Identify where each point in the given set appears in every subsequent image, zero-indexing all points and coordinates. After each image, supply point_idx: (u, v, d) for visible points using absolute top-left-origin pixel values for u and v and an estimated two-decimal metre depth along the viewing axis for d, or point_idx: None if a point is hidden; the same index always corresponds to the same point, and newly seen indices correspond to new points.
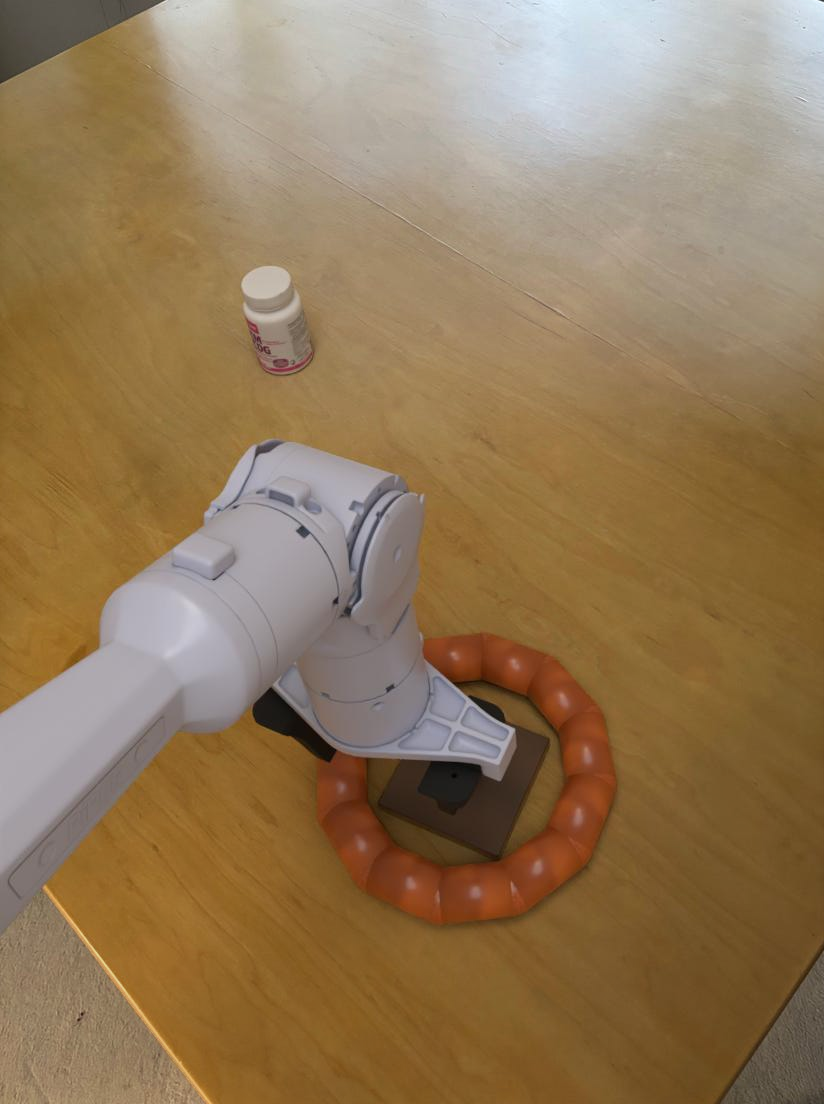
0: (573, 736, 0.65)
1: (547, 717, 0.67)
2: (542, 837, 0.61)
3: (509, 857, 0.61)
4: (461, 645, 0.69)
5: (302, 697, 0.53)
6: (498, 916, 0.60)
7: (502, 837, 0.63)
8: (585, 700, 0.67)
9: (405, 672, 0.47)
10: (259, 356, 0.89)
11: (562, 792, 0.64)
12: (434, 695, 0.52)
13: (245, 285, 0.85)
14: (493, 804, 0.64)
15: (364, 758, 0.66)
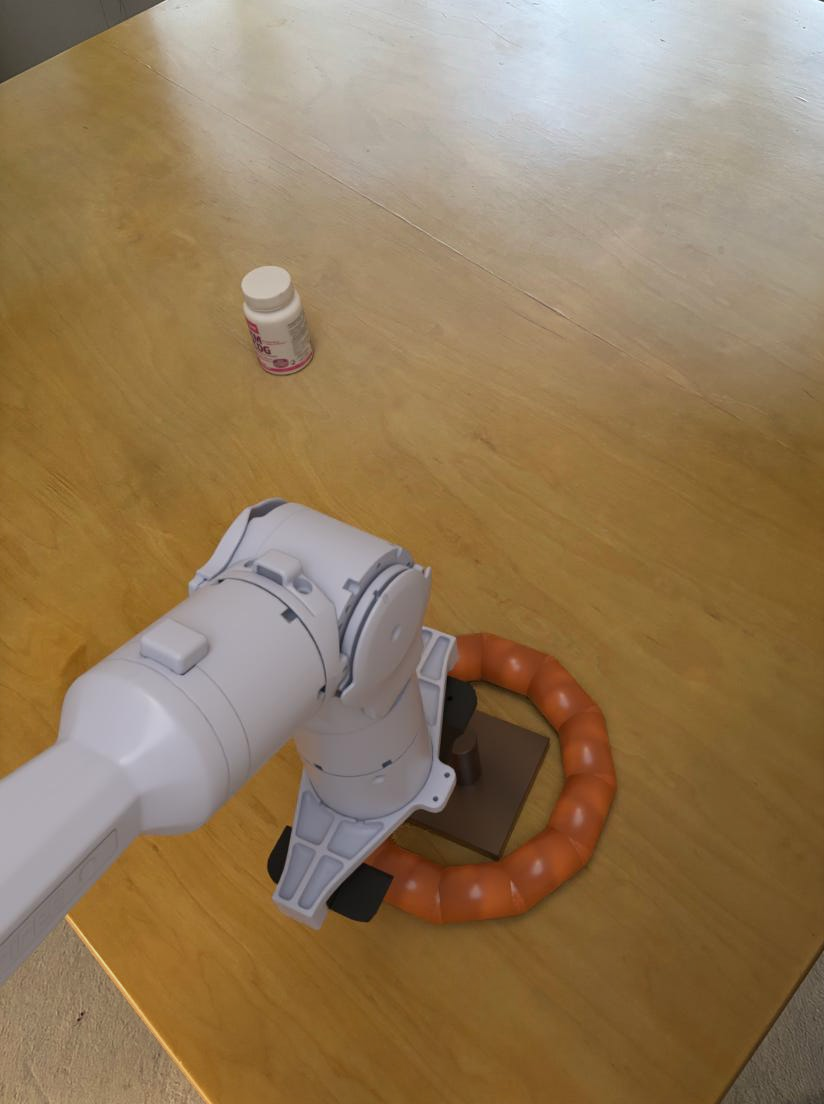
0: (573, 736, 0.65)
1: (547, 717, 0.67)
2: (542, 837, 0.61)
3: (509, 857, 0.61)
4: (461, 645, 0.69)
5: None
6: (498, 916, 0.60)
7: (502, 837, 0.63)
8: (585, 700, 0.67)
9: (404, 747, 0.44)
10: (259, 356, 0.89)
11: (562, 792, 0.64)
12: (364, 827, 0.47)
13: (245, 285, 0.85)
14: (493, 804, 0.64)
15: None
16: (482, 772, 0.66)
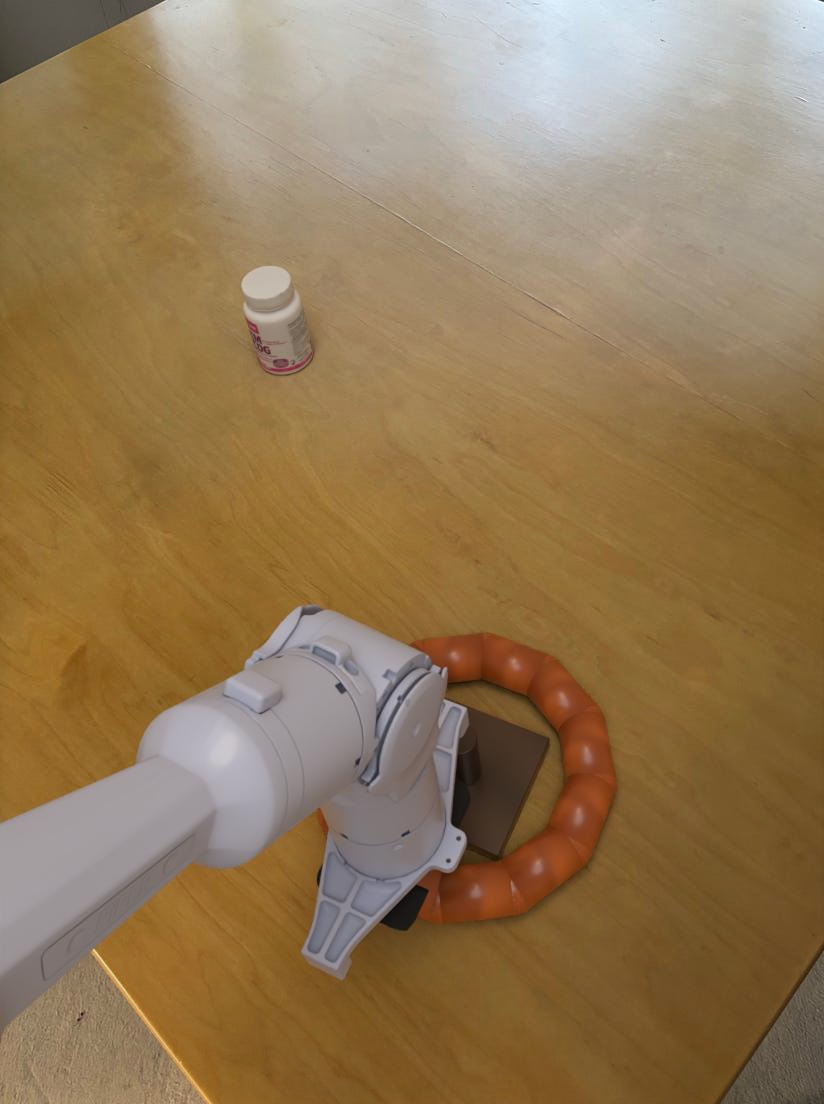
0: (574, 735, 0.65)
1: (547, 717, 0.67)
2: (542, 837, 0.61)
3: (510, 856, 0.61)
4: (461, 645, 0.69)
5: None
6: (498, 916, 0.60)
7: (502, 837, 0.63)
8: (585, 700, 0.67)
9: (421, 819, 0.49)
10: (259, 356, 0.89)
11: (562, 791, 0.64)
12: (384, 886, 0.53)
13: (245, 285, 0.85)
14: (493, 804, 0.64)
15: None
16: (482, 772, 0.66)
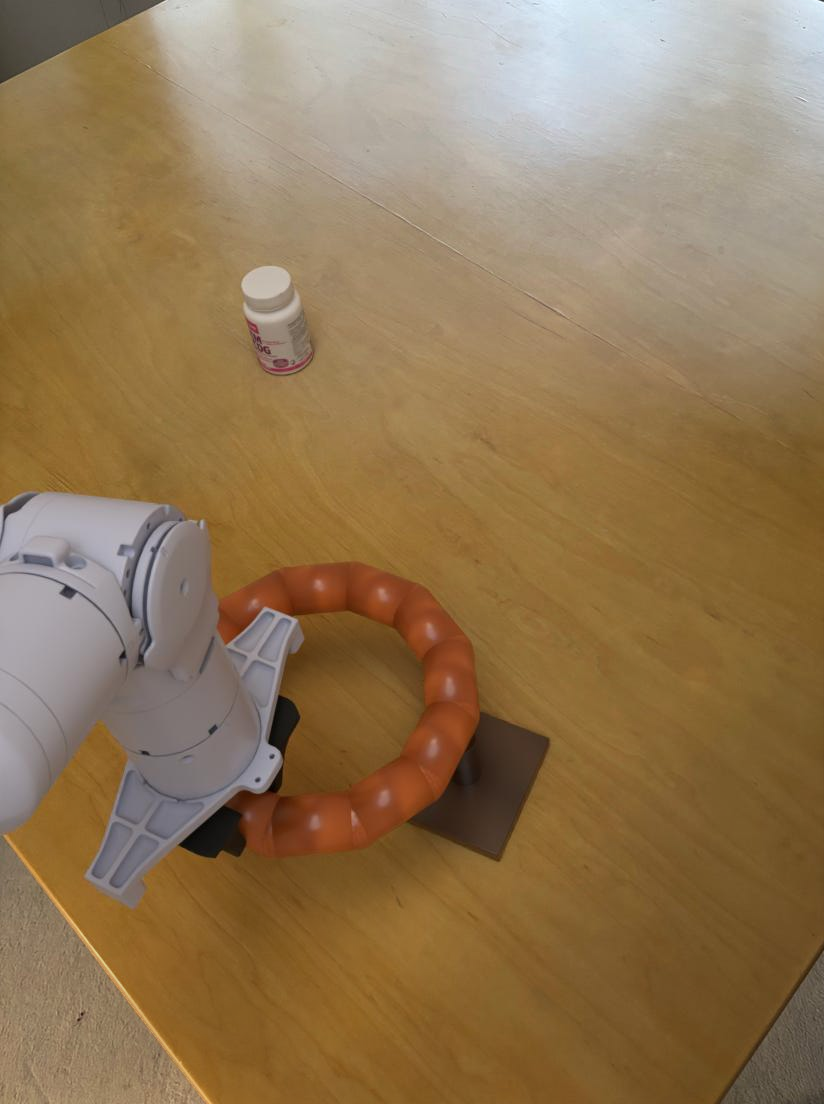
0: (436, 663, 0.60)
1: (412, 647, 0.62)
2: (391, 765, 0.56)
3: (354, 786, 0.56)
4: (325, 572, 0.65)
5: None
6: (337, 848, 0.55)
7: (502, 837, 0.63)
8: (452, 628, 0.62)
9: (226, 709, 0.45)
10: (259, 356, 0.89)
11: (418, 721, 0.59)
12: (186, 807, 0.47)
13: (245, 285, 0.85)
14: (493, 804, 0.64)
15: None
16: (482, 772, 0.66)
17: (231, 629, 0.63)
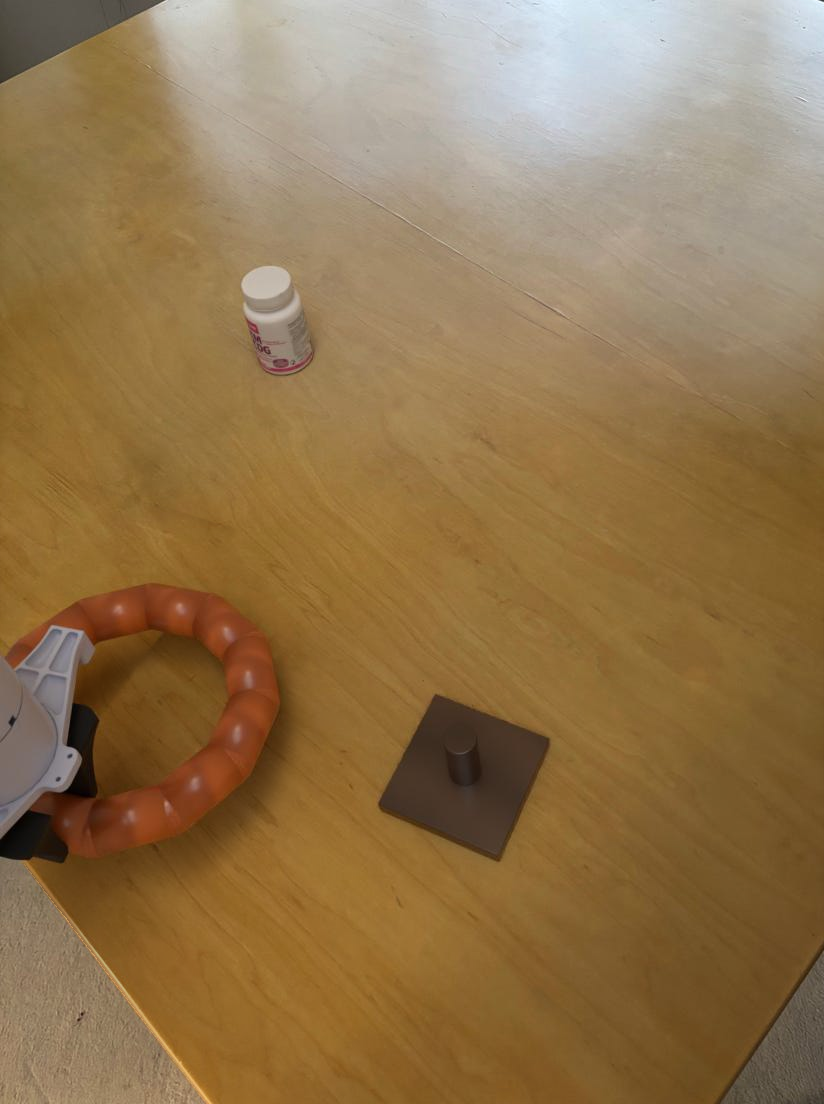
0: (233, 659, 0.66)
1: (212, 650, 0.68)
2: (198, 754, 0.61)
3: (165, 778, 0.60)
4: (123, 596, 0.69)
5: None
6: (155, 836, 0.59)
7: (502, 837, 0.63)
8: (246, 627, 0.67)
9: (17, 700, 0.49)
10: (259, 356, 0.89)
11: (222, 712, 0.64)
12: None
13: (245, 285, 0.85)
14: (493, 804, 0.64)
15: None
16: (482, 772, 0.66)
17: None
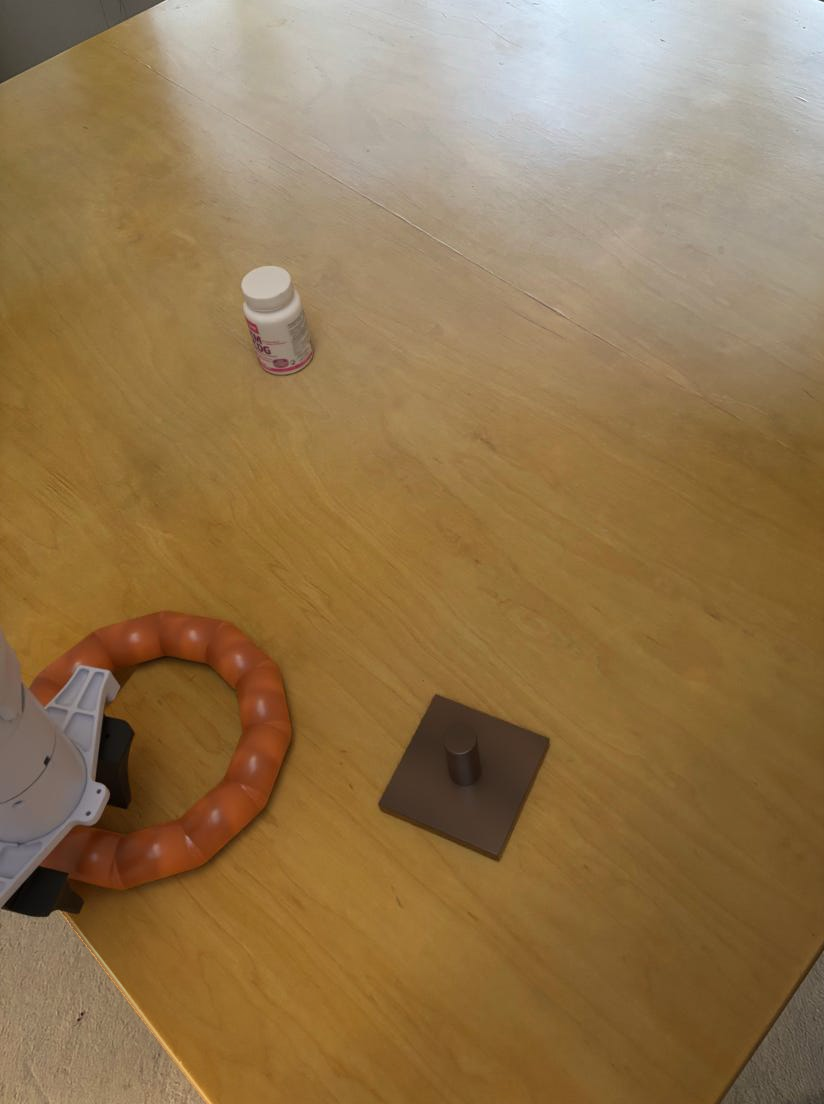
0: (246, 691, 0.68)
1: (225, 679, 0.70)
2: (216, 789, 0.64)
3: (186, 813, 0.64)
4: (137, 626, 0.72)
5: None
6: (178, 870, 0.62)
7: (502, 837, 0.63)
8: (257, 656, 0.70)
9: (51, 741, 0.52)
10: (259, 356, 0.89)
11: (237, 744, 0.67)
12: (26, 848, 0.54)
13: (245, 285, 0.85)
14: (493, 804, 0.64)
15: None
16: (482, 772, 0.66)
17: None
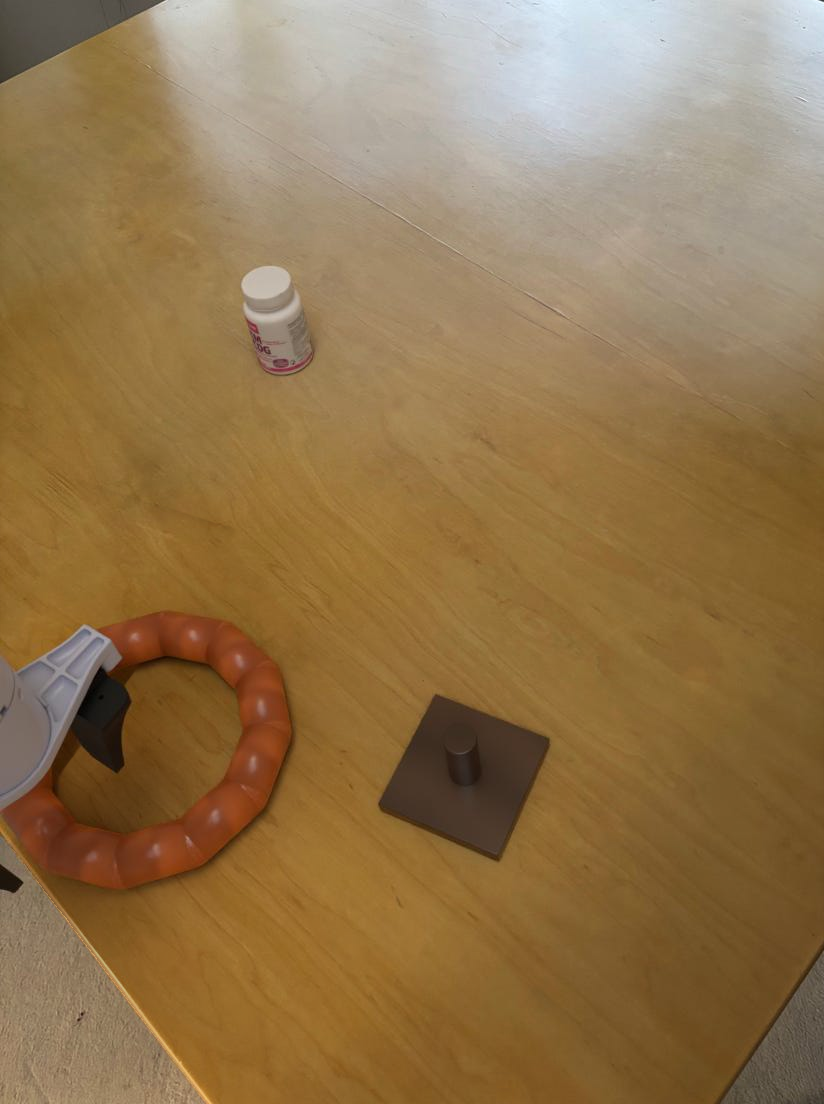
0: (246, 691, 0.68)
1: (225, 679, 0.70)
2: (216, 789, 0.64)
3: (186, 813, 0.64)
4: (137, 626, 0.72)
5: None
6: (178, 870, 0.62)
7: (502, 837, 0.63)
8: (257, 656, 0.70)
9: (9, 690, 0.48)
10: (259, 356, 0.89)
11: (237, 744, 0.67)
12: None
13: (245, 285, 0.85)
14: (493, 804, 0.64)
15: None
16: (482, 772, 0.66)
17: None
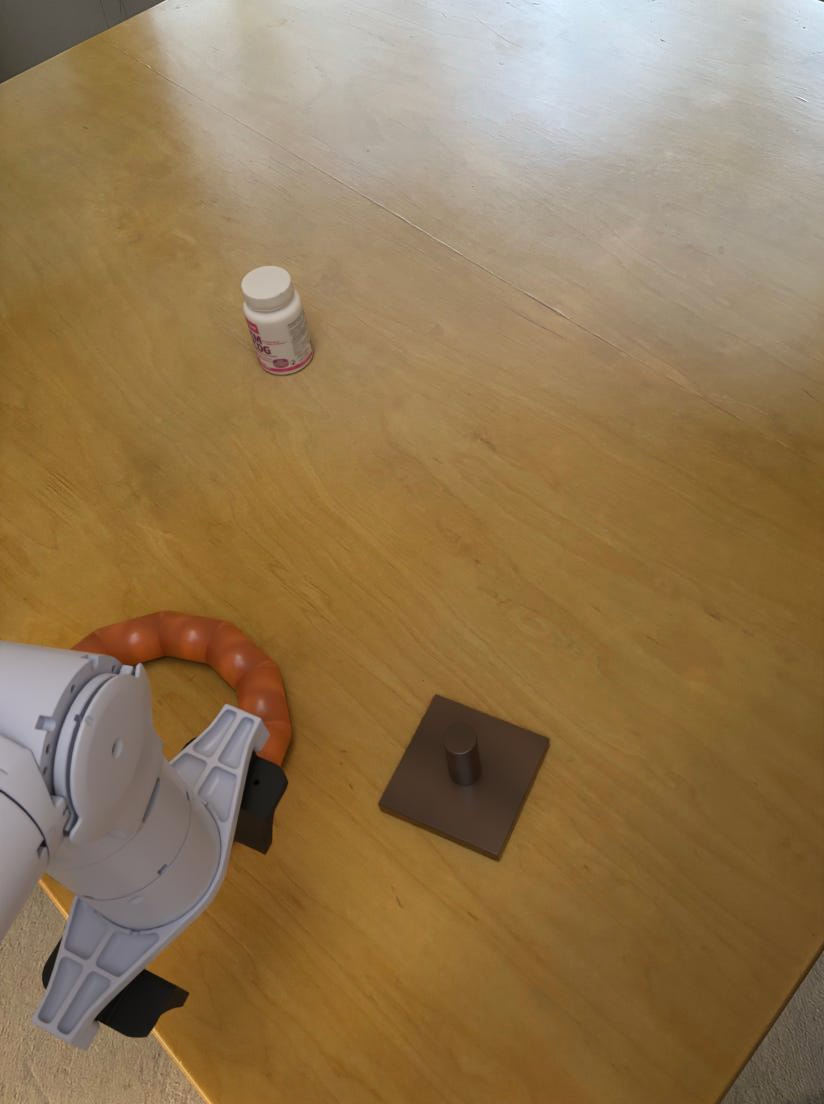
0: (246, 691, 0.68)
1: (225, 679, 0.70)
2: None
3: None
4: (137, 626, 0.72)
5: (141, 947, 0.44)
6: None
7: (502, 837, 0.63)
8: (257, 656, 0.70)
9: (177, 846, 0.41)
10: (259, 356, 0.89)
11: None
12: None
13: (245, 285, 0.85)
14: (493, 804, 0.64)
15: None
16: (482, 772, 0.66)
17: None
